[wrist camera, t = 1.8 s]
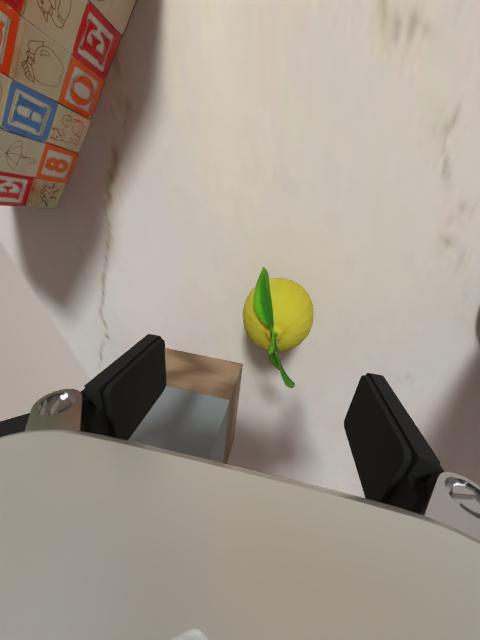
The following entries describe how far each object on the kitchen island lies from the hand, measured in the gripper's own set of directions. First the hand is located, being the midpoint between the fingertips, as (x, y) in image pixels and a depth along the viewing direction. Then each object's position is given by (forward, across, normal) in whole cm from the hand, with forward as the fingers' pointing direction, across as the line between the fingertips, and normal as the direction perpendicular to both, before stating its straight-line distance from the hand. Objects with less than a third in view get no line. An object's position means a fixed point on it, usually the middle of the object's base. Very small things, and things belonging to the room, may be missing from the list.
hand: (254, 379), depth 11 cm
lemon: (+12, -1, 0) cm, 12 cm away
